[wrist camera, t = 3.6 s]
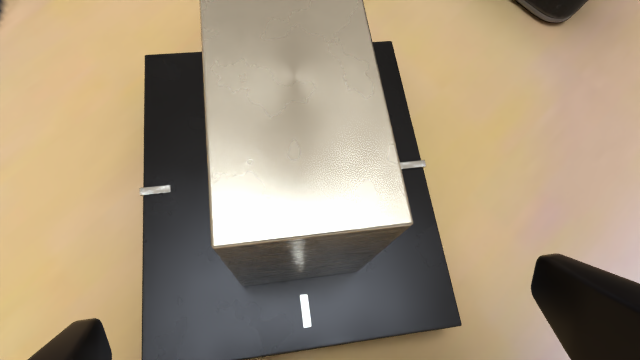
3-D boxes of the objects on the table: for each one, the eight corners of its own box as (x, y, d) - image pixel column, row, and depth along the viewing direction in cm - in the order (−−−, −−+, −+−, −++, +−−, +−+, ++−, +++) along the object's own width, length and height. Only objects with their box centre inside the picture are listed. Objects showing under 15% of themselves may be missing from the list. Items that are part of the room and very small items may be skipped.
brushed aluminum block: (359, 271, 19) (417, 221, 11) (241, 287, 18) (209, 246, 10) (327, 88, 22) (353, -54, 14) (227, 95, 22) (195, -50, 14)
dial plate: (444, 326, 21) (466, 325, 18) (155, 371, 19) (137, 376, 16) (383, 66, 26) (394, 38, 24) (155, 81, 24) (141, 52, 22)
